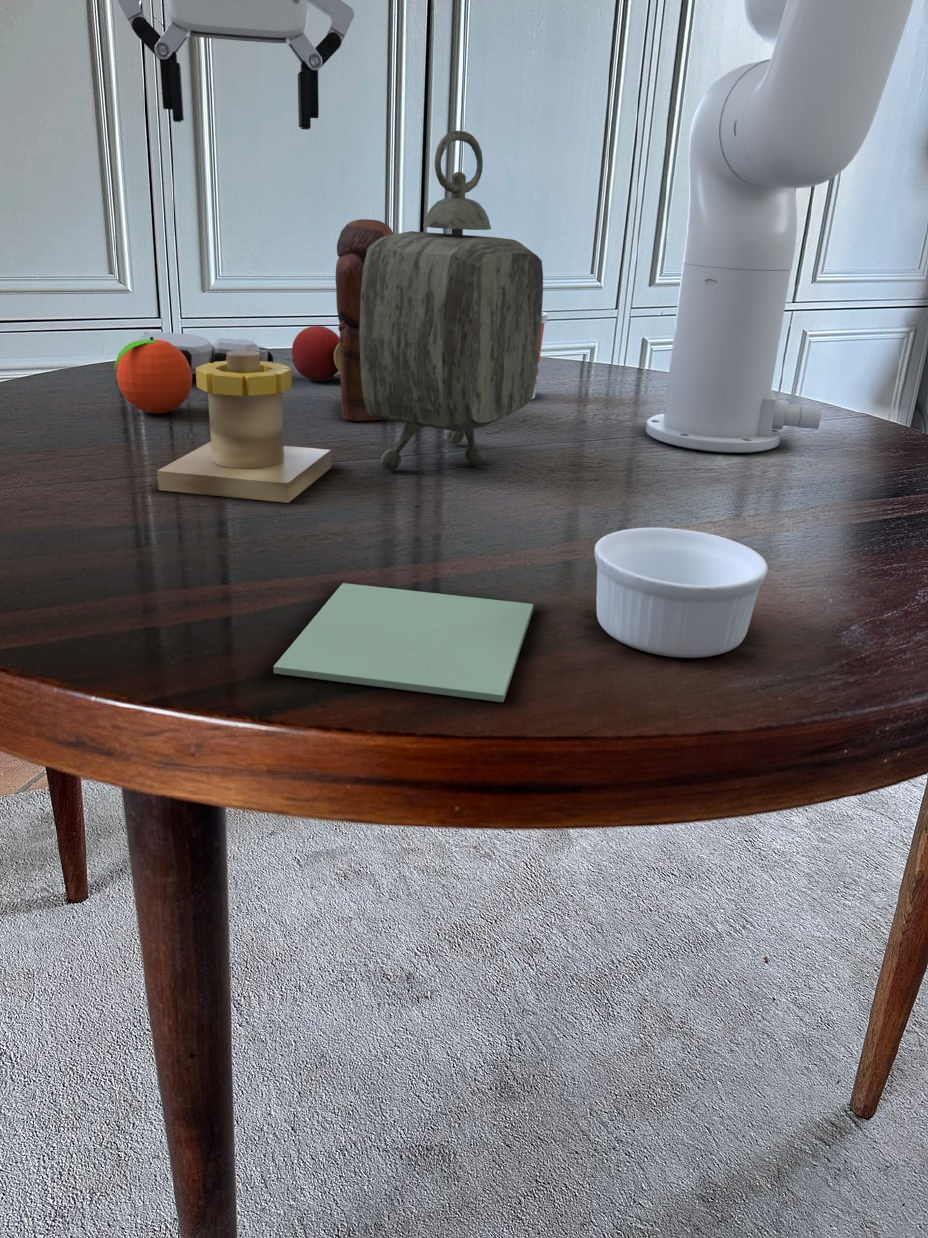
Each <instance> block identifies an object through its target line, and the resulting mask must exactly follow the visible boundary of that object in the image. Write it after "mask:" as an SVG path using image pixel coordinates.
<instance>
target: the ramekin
mask: <svg viewBox="0 0 928 1238" xmlns="http://www.w3.org/2000/svg"><path fill="white" fill-rule="evenodd" d="M594 559H595V564H596V599H595V601H596V618H597V621H598V623H599V626H601V628H602V629H603V631H605V632H606V633H607V634H608V635H609V636H611V637H612V638H613V639H614V640H616V641H618V642H619V643H621V644H624V645H625V646H628V647H630V648H633V649H636V650H639V651H642V652H646V653H650V654H654V655H657V656H663V657H669V658H684V659H686V658H687V659H695V658H696V659H697V658H707V657H708V658H709V657H713V656H714V657H715V656H718V655H722V654H725V653H728V652H730V651H731V650H734V649H735V648H737V647H738V646H740V644H742V643H743V641H744V639H745V638H746V635H747V633H748V631H749V627H750V624H751V620H752V616H753V613H754V609H755V604H756V602H757V598H758V594H759V591H760V587H761V586H762V585H763V584H764V582H765V579H766V576H767V573H768V569H769V568H768V567H769V566H768V564H767V562H766V559H765V558H764V557H763V556H762V555H761V554H760V553H758V552H757V551H755V550H754V549H752V548H750V547H748V546H747V545H745V544H742V543H740V542H737V541H735V540H732V539H729V538H727V537H723V536H720V535H716V534H711V533H707V532H702V531H696V530H689V529H683V528H682V529H681V528H672V527H636V528H628V529H621V530H619V531H615V532H610V533H609V534H606V535H604V536H602V537H601V538H600V539H599V540H598V541H597V542H596V543H595V545H594Z"/></svg>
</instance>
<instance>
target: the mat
mask: <svg viewBox="0 0 928 1238" xmlns="http://www.w3.org/2000/svg"><path fill="white" fill-rule="evenodd" d="M533 612H534V603H528V602H520V601H519V602H518V601H509V600H501V599H500V600H499V599H490V598H483V597H472V596H463V595H456V594H455V595H454V594H445V593H437V592H436V593H435V592H428V591H427V592H426V591H419V590H418V591H417V590H409V589H400V588H393V587H384V586H383V587H381V586H375V585H373V586H372V585H363V584H355V583H345V582H342V583H341V585H340V586H339V587H338V588H337V589H336V590H335V592H334V593H333V594H332V595H331V597H330V598H328V600H327V601H326V602H325V604H324V605H323V606H322V607H321V609H320V610H319V611H318V612H317V613H316V615H315V616H314V617H313V618H312V619H311V620H310V621H309V623H308V624H307V625H306V627H305V628H304V629H303V630H302V631H301V633H300V634H299V635H298V636H297V638H296V639H294V641H293V642H292V643H291V645H290V646H289V647H288V648H287V650H286V651H285V652H284V653H283V654H282V655H281V657H280V658H279V659H278V660H277V661H276V662H275V664H274V665H273V674H274V675H275V674H276V675H283V676H292V677H297V678H299V677H300V678H306V679H315V680H322V681H330V682H338V683H346V684H354V685H363V686H370V687H377V688H378V687H379V688H386V689H393V690H394V689H395V690H401V691H408V692H417V693H426V694H433V695H440V696H447V697H448V696H449V697H458V698H465V699H474V700H482V701H488V702H497V703H504V702H505V698H506V695H507V692H508V690H509V686H510V683H511V680H512V677H513V674H514V670H515V667H516V664H517V661H518V658H519V655H520V652H521V649H522V646H523V643H524V639H525V636H526V634H527V630H528V627H529V624H530V621H531V618H532V615H533Z"/></svg>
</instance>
